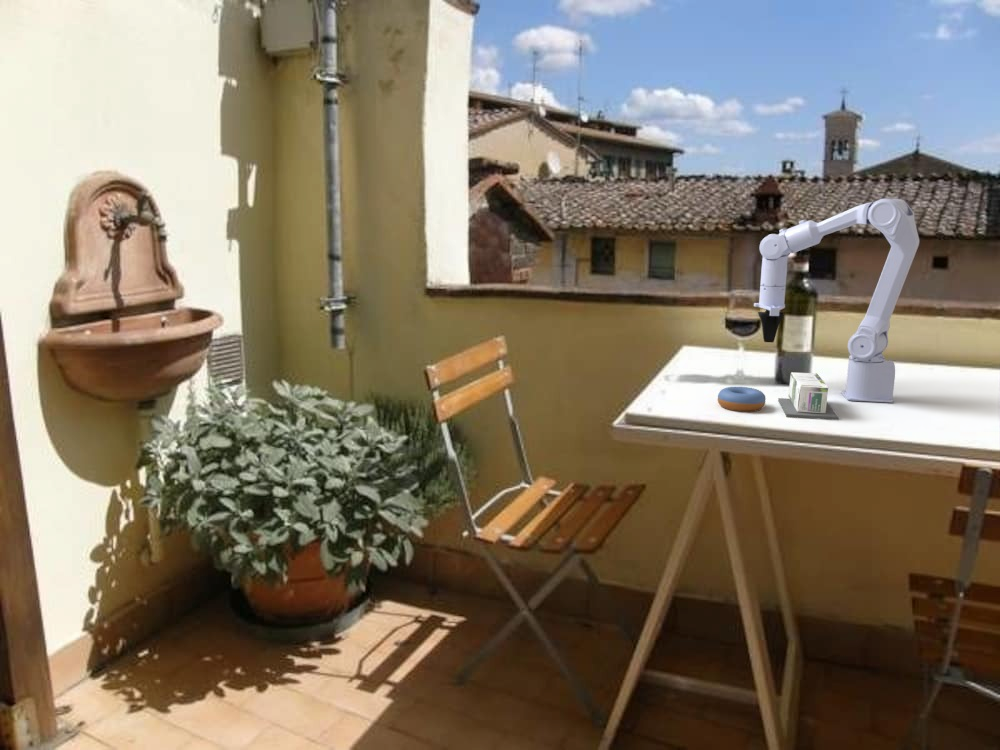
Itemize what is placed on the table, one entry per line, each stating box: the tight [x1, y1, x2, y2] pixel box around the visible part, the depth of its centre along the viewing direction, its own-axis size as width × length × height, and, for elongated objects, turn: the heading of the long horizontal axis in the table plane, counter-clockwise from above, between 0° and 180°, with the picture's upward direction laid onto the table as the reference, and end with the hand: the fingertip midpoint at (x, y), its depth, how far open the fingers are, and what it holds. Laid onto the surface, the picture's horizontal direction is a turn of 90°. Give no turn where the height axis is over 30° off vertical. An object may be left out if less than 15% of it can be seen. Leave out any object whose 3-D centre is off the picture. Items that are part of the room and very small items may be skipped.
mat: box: [777, 397, 839, 420], centre depth 168 cm, size 10×14×1 cm
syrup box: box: [788, 372, 829, 413], centre depth 169 cm, size 6×6×14 cm
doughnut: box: [717, 386, 767, 413], centre depth 170 cm, size 10×10×5 cm
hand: (768, 341), depth 190 cm, fingers closed
